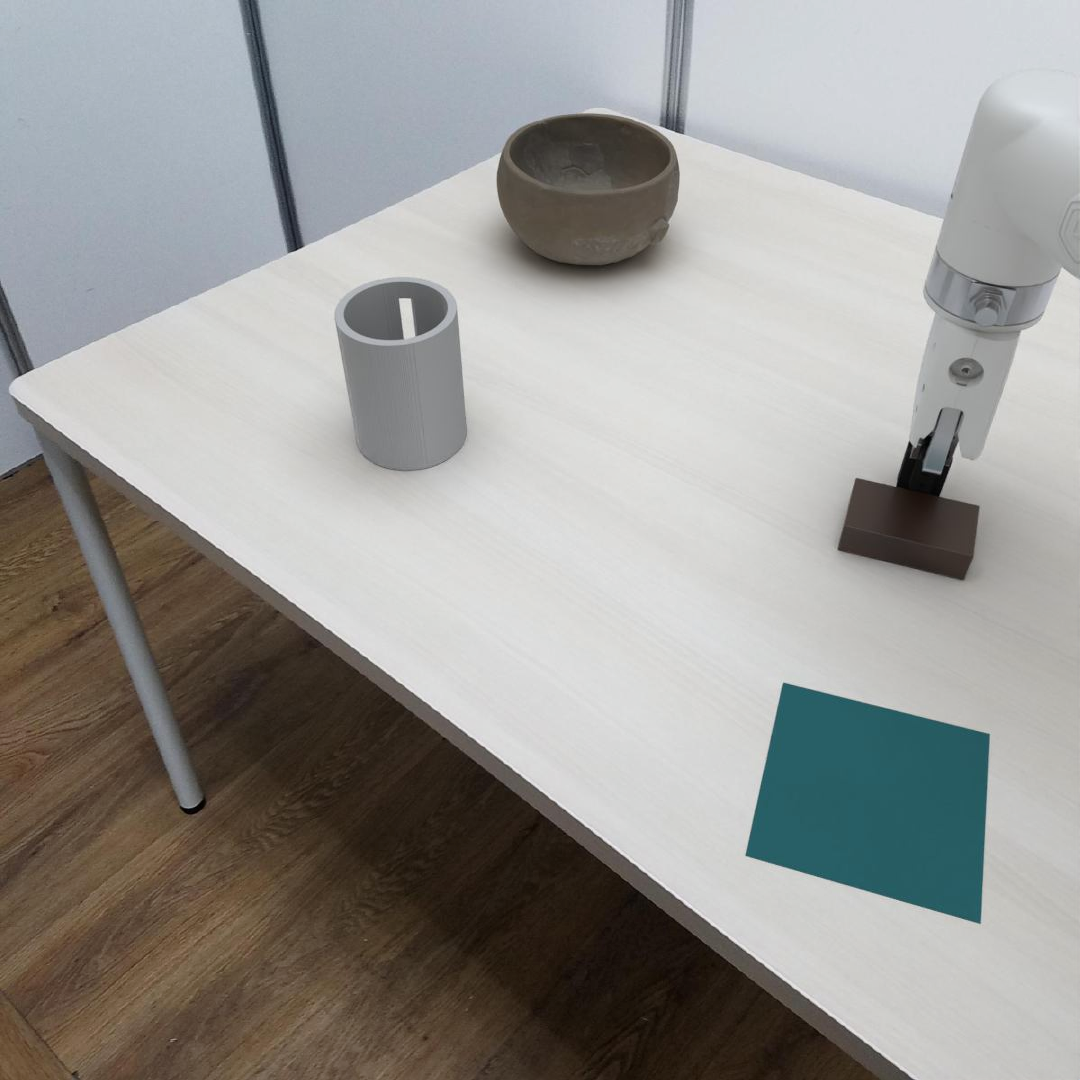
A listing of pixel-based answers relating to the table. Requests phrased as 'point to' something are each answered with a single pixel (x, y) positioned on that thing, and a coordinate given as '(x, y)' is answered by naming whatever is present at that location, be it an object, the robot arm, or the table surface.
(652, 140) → the bowl
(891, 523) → the walnut block
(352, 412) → the cup
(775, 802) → the mat
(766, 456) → the table surface
